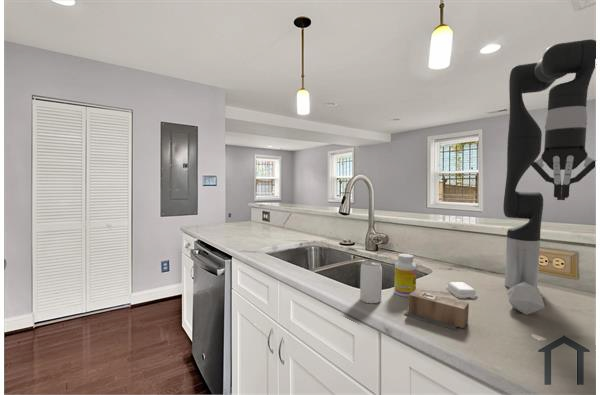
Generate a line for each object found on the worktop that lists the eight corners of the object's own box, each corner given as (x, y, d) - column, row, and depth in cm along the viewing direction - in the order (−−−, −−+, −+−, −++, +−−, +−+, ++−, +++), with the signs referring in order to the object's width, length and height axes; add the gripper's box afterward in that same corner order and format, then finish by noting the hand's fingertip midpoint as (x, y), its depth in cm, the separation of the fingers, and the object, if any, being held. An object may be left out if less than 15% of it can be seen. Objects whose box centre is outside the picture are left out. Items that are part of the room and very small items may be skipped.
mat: (418, 302, 94) (418, 301, 94) (465, 315, 86) (465, 313, 86) (404, 314, 86) (404, 313, 86) (454, 330, 77) (454, 328, 77)
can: (375, 306, 91) (375, 266, 91) (356, 300, 96) (356, 262, 95) (385, 299, 96) (385, 262, 95) (366, 294, 101) (367, 258, 100)
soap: (444, 288, 106) (444, 280, 106) (464, 288, 107) (464, 280, 106) (458, 299, 98) (458, 290, 97) (479, 299, 98) (479, 290, 97)
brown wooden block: (468, 321, 81) (415, 306, 90) (468, 301, 81) (415, 288, 90) (463, 328, 77) (408, 312, 87) (464, 307, 77) (408, 293, 86)
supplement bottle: (415, 299, 97) (416, 258, 96) (393, 296, 99) (394, 256, 98) (415, 291, 103) (416, 253, 102) (394, 288, 105) (395, 252, 104)
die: (515, 304, 94) (498, 280, 93) (548, 297, 89) (530, 271, 88) (519, 324, 88) (501, 298, 87) (554, 317, 83) (535, 290, 82)
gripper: (602, 127, 73) (597, 200, 74) (532, 132, 81) (529, 197, 83) (605, 123, 67) (599, 202, 68) (529, 129, 76) (525, 199, 77)
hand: (560, 199), depth 75 cm, fingers closed
